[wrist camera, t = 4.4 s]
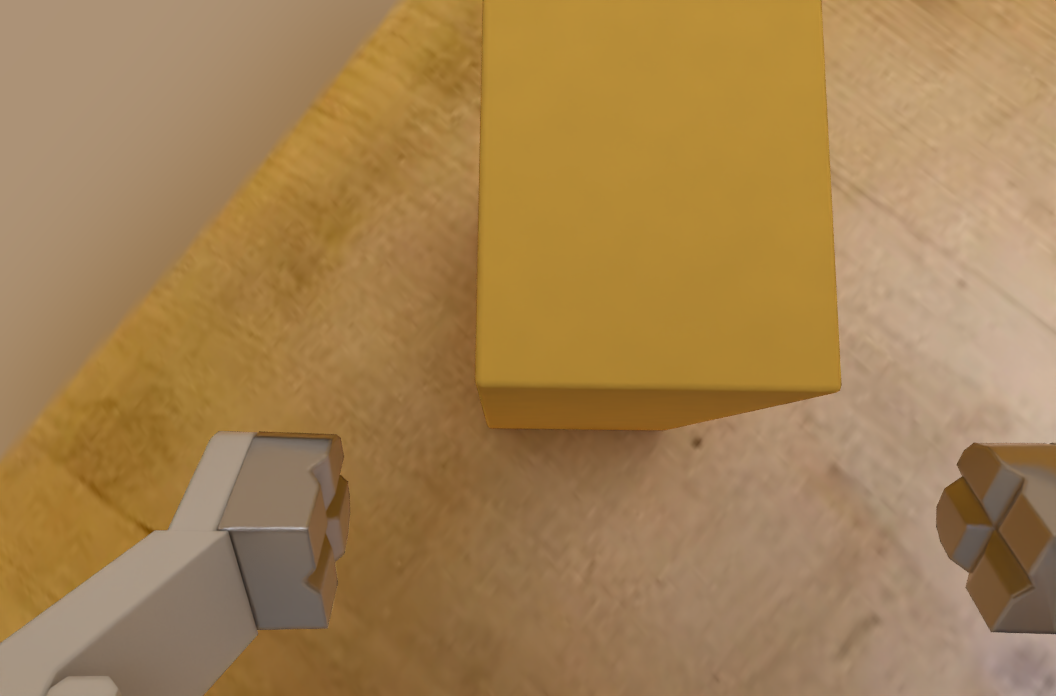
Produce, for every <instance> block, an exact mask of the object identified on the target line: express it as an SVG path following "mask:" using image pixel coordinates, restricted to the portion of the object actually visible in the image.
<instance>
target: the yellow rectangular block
mask: <svg viewBox="0 0 1056 696" xmlns="http://www.w3.org/2000/svg"><path fill="white" fill-rule="evenodd" d="M475 383H476V386H477V390H478V394H479V397H480V401H481V404H482V408H483V412H484V415H485V419H486V423H487V426H488V427H489V428H508V429H591V430H668V429H673V428H677V427H682V426H687V425H691V424H696V423H700V422H705V421H709V420H714V419H718V418H723V417H728V416H732V415H737V414H741V413H746V412H750V411H755V410H759V409H764V408H769V407H773V406H778V405H782V404H787V403H791V402H796V401H800V400H805V399H810V398H814V397H819V396H823V395H828V394H832V393H836V392H838V391H840V388H841V368H840V349H839V330H838V310H837V291H836V272H835V253H834V234H833V215H832V195H831V176H830V157H829V138H828V119H827V100H826V80H825V61H824V42H823V23H822V4H821V0H483V15H482V63H481V111H480V159H479V206H478V254H477V302H476V350H475Z"/></svg>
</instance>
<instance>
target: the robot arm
mask: <svg viewBox="0 0 1056 696" xmlns="http://www.w3.org/2000/svg"><path fill="white" fill-rule="evenodd" d="M343 460H344V453H343V447H342V442H341V438H340V437H339V436H338V435H337V434H312V433H285V432H258V433H257V432H235V431H218V432H217V433H216V434H215V435H214V436H213V437H212V438H211V439H210V440H209V442H208V444H207V446H206V449H205V451H204V453H203V455H202V457H201V459H200V461H199V464H198V466H197V468H196V470H195V472H194V474H193V476H192V479H191V481H190V483H189V485H188V487H187V489H186V491H185V494H184V496H183V498H182V500H181V502H180V504H179V506H178V509H177V511H176V513H175V515H174V517H173V519H172V521H171V524H170V526H169V528H168V530H155V531H153V532H152V533H151V534H149V535H148V536H146V537H145V538H144V539H142V540H141V541H140V542H138V543H137V544H136V545H134V546H133V547H131V548H130V549H129V550H127V551H126V552H125V553H123V554H122V555H120V556H119V557H118V558H116V559H115V560H114V561H112V562H111V563H109V564H108V565H107V566H105V567H104V568H103V569H101V570H100V571H98V572H97V573H96V574H94V575H93V576H92V577H90V578H89V579H87V580H86V581H85V582H83V583H82V584H81V585H79V586H78V587H77V588H75V589H74V590H72V591H71V592H70V593H68V594H67V595H66V596H64V597H63V598H61V599H60V600H59V601H57V602H56V603H55V604H53V605H52V606H50V607H49V608H48V609H46V610H45V611H44V612H42V613H41V614H39V615H38V616H37V617H35V618H34V619H33V620H31V621H30V622H28V623H27V624H26V625H24V626H23V627H22V628H20V629H19V630H18V631H16V632H15V633H13V634H12V635H11V636H9V637H8V638H7V639H5V640H4V641H2V642H1V643H0V696H203V695H204V694H205V693H206V692H207V691H208V690H209V689H210V687H211V686H212V685H213V684H214V683H215V682H216V681H217V680H218V678H219V677H220V676H221V675H222V674H223V673H224V672H225V671H226V670H227V668H228V667H229V666H230V665H231V664H232V663H233V662H234V661H235V659H236V658H237V657H238V656H239V655H240V654H241V653H242V652H243V651H244V649H245V648H246V647H247V646H248V645H249V644H250V643H251V642H252V640H253V639H254V638H255V637H256V636H257V635H258V631H257V630H279V629H325V628H328V625H329V621H330V617H331V612H332V608H333V603H334V599H335V594H336V590H337V586H338V579H337V573H336V567H335V562H336V561H337V560H338V559H339V558H340V557H341V556H342V555H343V554H344V553H345V549H346V544H347V539H348V533H349V522H350V493H349V486H348V481H347V480H346V479H344V478H343V477H342V476H341V475H340V472H341V468H342V464H343ZM957 466H958V469H959V471H960V473H961V475H962V477H961V478H959V479H958V480H956V481H955V482H953V483H952V484H950V485H949V486H947V487H946V488H945V489H944V491H943V493H942V495H941V498H940V500H939V502H938V504H937V507H936V528H937V531H938V535H939V539H940V542H941V544H942V546H943V548H944V550H945V552H946V553H947V555H948V557H949V559H951V560H952V561H953V562H955V563H956V564H957V565H959V566H960V567H962V568H963V569H964V570H966V571H967V572H968V573H969V575H968V579H967V583H966V589H967V591H968V593H969V594H970V596H971V598H972V600H973V601H974V603H975V605H976V607H977V608H978V610H979V612H980V614H981V615H982V617H983V619H984V621H985V622H986V624H987V626H988V628H989V629H990V631H991V632H1004V633H1034V634H1056V443H1050V444H1047V443H973V444H972V445H970V446H969V447H968V448H967V449H965V450H964V451H963V453H962V455H961V457H960V459H959V461H958V463H957Z"/></svg>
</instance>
